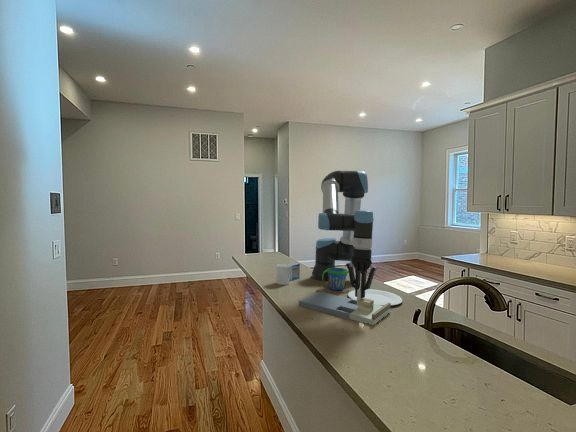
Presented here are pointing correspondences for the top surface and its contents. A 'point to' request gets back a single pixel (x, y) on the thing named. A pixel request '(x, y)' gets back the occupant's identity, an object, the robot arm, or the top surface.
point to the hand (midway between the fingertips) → (359, 304)
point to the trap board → (344, 307)
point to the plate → (379, 297)
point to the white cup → (283, 274)
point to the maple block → (366, 305)
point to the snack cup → (336, 277)
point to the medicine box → (294, 271)
